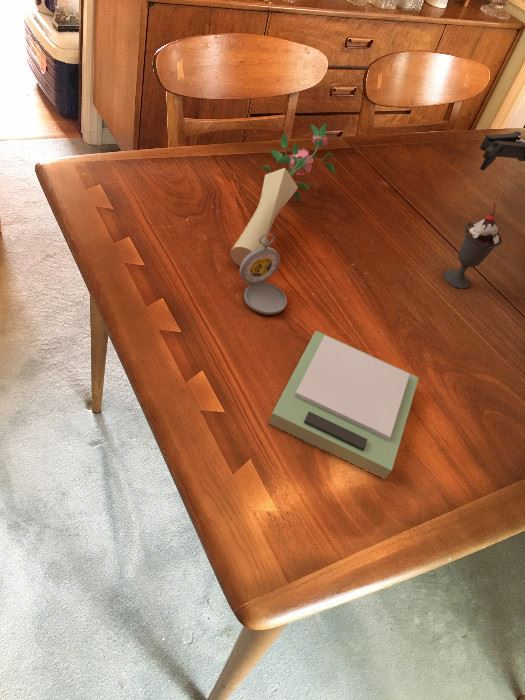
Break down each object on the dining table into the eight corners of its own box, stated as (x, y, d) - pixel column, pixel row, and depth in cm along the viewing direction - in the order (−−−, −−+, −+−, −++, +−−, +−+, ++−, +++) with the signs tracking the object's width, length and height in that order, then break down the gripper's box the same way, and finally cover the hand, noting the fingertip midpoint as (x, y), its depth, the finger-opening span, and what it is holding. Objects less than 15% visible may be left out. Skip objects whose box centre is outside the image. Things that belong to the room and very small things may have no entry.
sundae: (453, 263, 104) (494, 194, 93) (480, 286, 101) (526, 217, 90) (431, 272, 100) (471, 201, 89) (458, 296, 97) (503, 225, 86)
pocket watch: (272, 323, 83) (289, 272, 75) (225, 297, 84) (237, 244, 77) (296, 295, 88) (314, 245, 81) (251, 271, 90) (265, 220, 82)
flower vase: (220, 288, 97) (282, 163, 114) (287, 299, 93) (340, 168, 111) (204, 238, 87) (275, 110, 105) (278, 248, 83) (338, 113, 101)
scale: (412, 387, 80) (421, 373, 78) (384, 480, 68) (394, 467, 66) (311, 341, 82) (317, 326, 80) (267, 423, 70) (273, 409, 68)
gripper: (600, 192, 108) (576, 235, 94) (484, 134, 114) (447, 167, 101) (626, 157, 102) (605, 197, 89) (504, 99, 109) (466, 128, 95)
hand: (521, 181), depth 95 cm, fingers open, 13 cm apart
